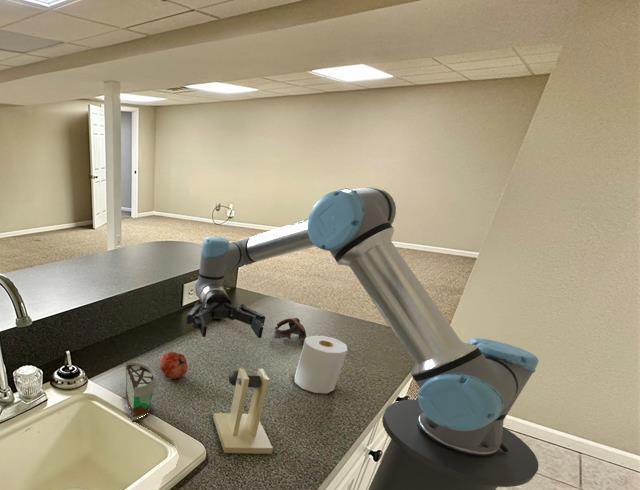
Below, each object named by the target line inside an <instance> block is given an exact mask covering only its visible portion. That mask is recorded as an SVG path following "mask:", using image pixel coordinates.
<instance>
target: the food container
mask: <svg viewBox="0 0 640 490" xmlns="http://www.w3.org/2000/svg"><path fill="white" fill-rule="evenodd" d="M157 385H158V381H157V376H156V374H155V372H154V370H153V369H152V368H151V367H149V366H147V365H145V364H142V363H140V362H139V363H138V362H132V361H131V362H130V361H127V362H126V363H125V402H126V405H127V409H128V413H129V415H130V420H131V423H137V422H141V421H143V420H145V419H146V418H147V417H148V416H149V415H150V412H151V405H152V399H153V395H154V391H155V389H156V388H157ZM129 407H130V408H129ZM130 411H131V412H130ZM147 413H148V414H147ZM145 414H146V415H145ZM144 415H145V416H144ZM141 416H143V417H141ZM139 417H141V418H139ZM137 418H138V419H137Z"/></svg>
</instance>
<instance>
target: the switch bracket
mask: <svg viewBox="0 0 640 490" xmlns="http://www.w3.org/2000/svg"><path fill="white" fill-rule="evenodd" d="M238 371H239V372H238V377H237V382H236V386H234V393H233V397H232V403H231V408H230V413H229V412H228V413H227V412H213V416H212V419H213V422H214V426H215V428H216V431H217V435H218V438H219V441H220V444H221V448H222V451H223V454H258V455H259V454H260V455H262V454H265V455H267V454H268V455H272V454H273V450H274V447H273V445H272V443H271V441H270V439H269V437H268V435H267V432H266V430H265V428H264V426H263V424H262V421H261V418H262V413H263V408H264V404H265V400H266V397H267V393H268V388H269V384H270V378H269V376H268V374H267V373H266V371H265V370H264V368H258V369H257V373H256V375H258V376H260V388H253V390H252V396H251V400H250V403H249V404H250V405H249V409H248V412H247V413H243V411H244V407H245V402H246V397H247V392H248V389H249V387H248V384H249V377H248V375H249V374H248V373H247V372H246V370H245V368H244V367H239V368H238Z"/></svg>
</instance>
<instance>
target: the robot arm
mask: <svg viewBox="0 0 640 490" xmlns="http://www.w3.org/2000/svg"><path fill="white" fill-rule="evenodd" d="M396 213H397V207H396V202H395V200H394V198H393V197H392V195H391V194H390V192H387V191H386V190H385V189H382V188H378V187H361V188H340V189H337V190H334V191H331V192H328V193H327V194H324V195H323V196H322V197H320V198H319V200H318V201H316V203H315V204H314V205H313V206H312V209H311V211H310V212H309V215H308V218H305V219H302V220H299V221H296V222H294V223H289V224H287V225H284V226H281V227H278V228H275V229H272V230H268V231H265V232H263V233H259V234H257V235H254V236H251V237H248V238H244V239H240V240H237V241H231V242H230V241H229V240H228V239H227V238H225V237H222V236H209V237H206V238H205V239H203V241H202V246H201V251H200V263H199V271H198V272H199V273H198V278H197V280H196V281H195V284H194V289H195V293H196V296H197V298H198V299H199V301H200V303H199V302H196V303H195V304H194V307H193V308H192V309H191V310H190V311H189V312H188V313H187V314H186V321H185V323H186V325H191V324H193V328H194V329H198V330H199V332H200V334H201V336H202V338H206V337H207V331H208V325H207V323H206V321H208V320H212V319H214V318H222V317H223V318H222V319H229V320H231V321H234V320H236V321H238V322H241V323H244V324H247V325H248V326H250V328H251V330H252V331H253V333H254V335H256V337H257V338H258V339H262V337H263V332H264V326H265V321H266V316H265V315H264V314H261V312H257V311H255V310H253V309H252V308H249V307H247V306H246V305H245V304H242V303H241V304H239V306H235V305H233V303H232V300H231V298H230V297H229V296H228V295H227V294H226V290H224V289H223V288H222V287H224V286H223V285H224V279H225V272H226V270H228V269H231V268H237V267H242V266H248V265H252V264H254V263H257V262H261V261H264V260H269V259H273V258H276V257H280V256H283V255H288V254H292V253H295V252H300V251H304V250H308V249H312V248H315V247H316V248H318V249H320V250H323V251H327V252H330V255H331V256H332V257H333V259H334V260H335V261H336V263H337V264H338V265H339V266H345V267H348V268H350V269H351V271H352V272H353V274H354V276H355V277H356V278H357V280H358V281H359V283H360V285H361V286H362V288H363V289H364V291H365V292H366V294H367V295H368V296H369V298H370V299H371V301H372V303H373V304H374V306H375V307H376V309H377V310H378V311H379V313H380V315H381V316H382V317H383V319H384V321H385V323H386V324H387V325H388V327H389V328H390V330H391V331H392V333H393V334H394V335H395V337H396V339H397V340H398V342H399V343H400V345H401V346H402V348H403V350H405V352H406V354H407V355H408V357H409V358H410V360H411V361H412V363H413V367H412V369H411V372H410V375H411V377H412V379H413V380H414V381H415V383H416V384H417V386H418V388H419V391H418V395H417V400H418V402H419V406H420V408H421V410H422V412H423V413H422V414H421V415H420V417H419V419H418V421H417V426H418V428H419V430H420V431H421V432H422V433H423V434H424V435H425V436H426V437H427V438H428V439H430V440H431V441H433V442H434V443H436V444H438V445H440V446H441V447H444V448H446V449H448V450H450V451H453V452H456V453H459V454H462V455H466V456H472V457H490V456H493V455H495V454H496V453H497V451H498V449H499V448H501V449H502V450H503V451H504V452H508V451H509V450H508V449H507V448H506V447H505V446H504V445H503V444H502V443H501V441H502V431H503V427H504V422H505V421H504V420H505V419H506V417H507V415H508V414H509V412H510V410H512V407H513V406H514V404H515V403H516V401H517V399H518V398H519V396H520V394H521V393H522V391H523V390H524V388H525V386H526V385H527V384H528V382H529V379H531V376H532V375H533V374H535V372H536V369H537V367H538V365H539V358H538V357H537V356H536V355H535V354H534V353H532V352H530V351H528V350H525V349H523V348H520V347H517V346H515V345H512V344H508V343H505V342H502V341H498V340H492V339H489V338H488V339H487V338H471V339H469V340H468V341H467V342H463V340H461V338H460V337H459V336H458V334H457V333H456V331H455V329H454V328H453V327H452V326H451V324H450V322H449V321H448V320H447V318H446V317H445V315H444V314H443V313H442V311H441V310H440V308H439V307H438V306H437V304H436V302H435V301H434V300H433V298H432V297H431V296H430V294H429V293H428V291H427V290H426V288H425V287H424V285H423V284H422V283H421V281H420V279H418V277H417V275H416V274H415V273H414V272H413V270H412V268H411V267H410V266H409V264H408V263H407V261H406V260H405V259H404V257H403V256H402V254H401V253H400V252H399V250H398V249H397V247H396V246H395V244H394V243H393V242H392V240H393V236H394V232H395V228H394V227H393V225H392V224H393V223H394V221H395V218H396V215H397V214H396Z"/></svg>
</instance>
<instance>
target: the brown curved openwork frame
mask: <svg viewBox="0 0 640 490" xmlns="http://www.w3.org/2000/svg"><path fill="white" fill-rule="evenodd" d="M287 324H288V327H289V328H287V329H279V328H281V327H282V326H284V325H287ZM274 330H275V331H274V335H273V336H274V337H275V338H278V339H285V338H287V339H289V340H291V338H292V337H291V336H292V334H293V335H297V336H298V339H301V340H302V346H303V345H304V341H305V338H307V331H306V329H305V326H304V325H303V324H302V323H301V321H300V319H299V318H298V317H294V318H293V317H292V318H290V317H289V318H285V319H283V320H281V321H279V322H278V323H277V324H276V326H275V327H274Z"/></svg>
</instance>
